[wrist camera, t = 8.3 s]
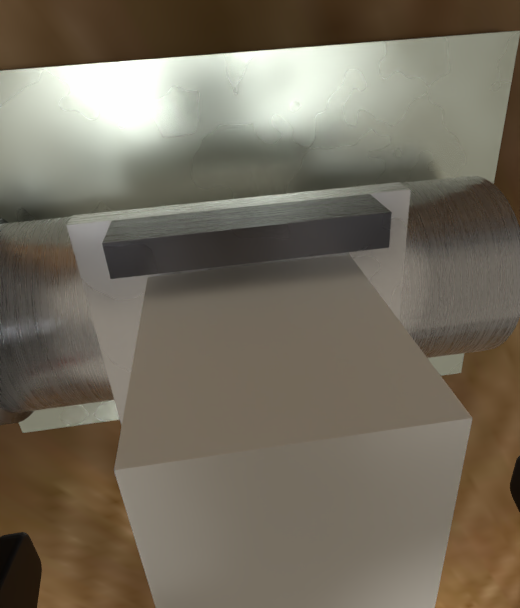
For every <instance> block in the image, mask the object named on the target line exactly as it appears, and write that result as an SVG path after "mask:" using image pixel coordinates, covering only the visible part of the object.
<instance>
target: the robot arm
mask: <svg viewBox="0 0 520 608" xmlns="http://www.w3.org/2000/svg"><path fill="white" fill-rule="evenodd" d="M510 491H511V494H512V497H513V500H514V502H515V504H516V506H517V508H518V510H519V512H520V456H519V457H518V458H517V460H516V463H515V467H514V471H513V475H512V478H511V482H510ZM41 572H42V568H41V561H40V558H39V556H38V554H37V552H36V550H35V547H34V545H33V543H32V541H31V539H30V537H29V535H28V534H26V533H25V532H21V533H14V534H8V535H4V536H2V537H0V608H37V603H38V595H39V588H40V581H41Z"/></svg>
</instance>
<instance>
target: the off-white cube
mask: <svg viewBox="0 0 520 608" xmlns="http://www.w3.org/2000/svg"><path fill="white" fill-rule="evenodd" d="M471 422H472V417H471V416H470V414H469V413H468V412H467V410H466V409H465V408H464V406H463V405H462V404H461V402H460V401H459V400H458V398H457V397H456V396H455V394H454V393H453V392H452V390H451V389H450V388H449V386H448V385H447V384H446V382H445V381H444V380H443V378H442V377H441V376H440V374H439V373H438V372H437V370H436V369H435V368H434V366H433V365H432V364H431V362H430V361H429V360H428V358H427V357H426V356H425V354H424V353H423V352H422V350H421V349H420V348H419V346H418V345H417V344H416V342H415V341H414V340H413V338H412V337H411V336H410V334H409V333H408V332H407V330H406V329H405V328H404V326H403V325H402V324H401V322H400V321H399V320H398V318H397V317H396V316H395V314H394V313H393V312H392V310H391V309H390V308H389V306H388V305H387V304H386V302H385V301H384V300H383V298H382V297H381V296H380V294H379V293H378V292H377V290H376V289H375V288H374V286H373V285H372V284H371V283H370V281H369V280H368V279H367V277H366V276H365V275H364V273H363V272H362V271H361V269H360V268H359V267H358V265H357V264H356V263H355V261H354V260H353V259H352V257H351V256H350V255H349V254H345V255H336V256H328V257H319V258H310V259H302V260H293V261H284V262H275V263H267V264H258V265H249V266H240V267H232V268H223V269H214V270H206V271H197V272H188V273H179V274H171V275H162V276H153V277H148V278H147V283H146V289H145V295H144V301H143V306H142V312H141V318H140V324H139V329H138V335H137V341H136V347H135V352H134V358H133V364H132V370H131V375H130V381H129V387H128V393H127V398H126V404H125V410H124V416H123V421H122V427H121V433H120V439H119V444H118V450H117V456H116V462H115V467H114V472H115V475H116V479H117V482H118V485H119V488H120V492H121V495H122V498H123V502H124V505H125V508H126V511H127V515H128V518H129V521H130V525H131V528H132V531H133V534H134V538H135V541H136V544H137V547H138V551H139V554H140V557H141V561H142V564H143V567H144V570H145V574H146V577H147V580H148V584H149V587H150V590H151V593H152V597H153V600H154V603H155V606H156V608H435V603H436V598H437V593H438V588H439V583H440V578H441V573H442V568H443V563H444V558H445V553H446V548H447V543H448V538H449V533H450V528H451V523H452V518H453V513H454V508H455V503H456V498H457V493H458V488H459V483H460V478H461V473H462V467H463V462H464V457H465V452H466V447H467V442H468V437H469V432H470V427H471Z"/></svg>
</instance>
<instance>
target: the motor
mask: <svg viewBox="0 0 520 608" xmlns="http://www.w3.org/2000/svg"><path fill="white" fill-rule="evenodd" d="M519 36H520V31H501V32H488V33H475V34H462V35H449V36H436V37H423V38H410V39H397V40H384V41H371V42H358V43H345V44H332V45H319V46H306V47H293V48H280V49H267V50H254V51H241V52H228V53H215V54H202V55H189V56H176V57H163V58H150V59H137V60H124V61H111V62H98V63H85V64H72V65H59V66H46V67H33V68H20V69H7V70H0V425H4V424H12V423H19V425H20V427H21V430H22V432H23V433H26V432H33V431H40V430H47V429H55V428H62V427H69V426H77V425H84V424H91V423H98V422H106V421H113V420H120V422H121V425H122V421H123V416H124V410H125V404H126V398H127V393H128V387H129V381H130V375H131V370H132V364H133V358H134V352H135V347H136V341H137V335H138V329H139V324H140V318H141V312H142V306H143V301H144V295H145V289H146V283H147V278H148V277H153V276H162V275H171V274H179V273H188V272H197V271H206V270H214V269H223V268H232V267H240V266H249V265H258V264H267V263H275V262H284V261H293V260H302V259H310V258H319V257H328V256H336V255H345V254H349V255H350V256H351V257H352V259H353V260H354V261H355V263H356V264H357V265H358V267H359V268H360V269H361V271H362V272H363V273H364V275H365V276H366V277H367V279H368V280H369V281H370V283H371V284H372V285H373V286H374V288H375V289H376V290H377V292H378V293H379V294H380V296H381V297H382V298H383V300H384V301H385V302H386V304H387V305H388V306H389V308H390V309H391V310H392V312H393V313H394V314H395V316H396V317H397V318H398V320H399V321H400V322H401V324H402V325H403V326H404V328H405V329H406V330H407V332H408V333H409V334H410V336H411V337H412V338H413V340H414V341H415V342H416V344H417V345H418V346H419V348H420V349H421V350H422V352H423V353H424V354H425V356H426V357H427V358H428V360H429V361H430V362H431V364H432V365H433V366H434V368H435V369H436V370H437V372H438V373H439V374H440V376H441V375H448V374H456V373H461V369H462V363H463V358H464V353H469V352H477V351H484V350H490V349H494V348H496V347H498V346H500V345H501V344H502V343H504V342H505V341H506V340H507V339H508V337H509V336H510V335H511V333H512V332H513V330H514V328H515V327H516V324H517V322H518V320H519V317H520V228H519V225H518V222H517V219H516V216H515V214H514V212H513V210H512V208H511V206H510V204H509V202H508V201H507V199H506V198H505V196H504V195H503V193H502V192H501V191H500V190H499V189H498V188H497V187H496V186H495V185H494V179H495V174H496V168H497V162H498V156H499V151H500V145H501V139H502V133H503V128H504V122H505V116H506V110H507V105H508V99H509V93H510V87H511V82H512V76H513V70H514V64H515V59H516V53H517V47H518V41H519Z"/></svg>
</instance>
